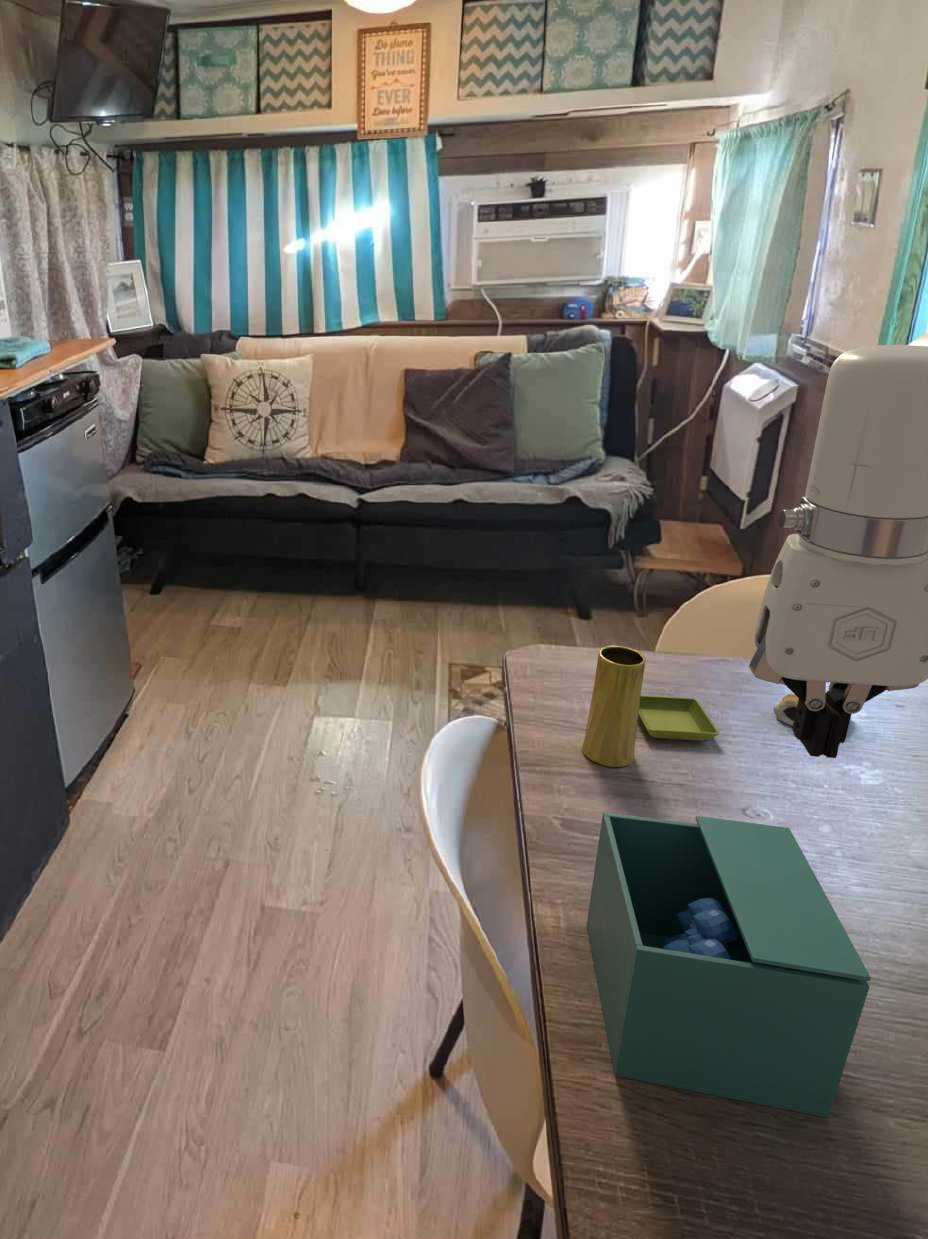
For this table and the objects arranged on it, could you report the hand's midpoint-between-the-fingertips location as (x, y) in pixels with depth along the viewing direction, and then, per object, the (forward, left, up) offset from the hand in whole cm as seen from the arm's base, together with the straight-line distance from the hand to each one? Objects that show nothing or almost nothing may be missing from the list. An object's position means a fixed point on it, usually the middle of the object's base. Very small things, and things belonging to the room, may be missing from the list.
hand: (815, 746), depth 65 cm
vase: (+7, -34, -26) cm, 44 cm away
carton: (+6, +4, -26) cm, 26 cm away
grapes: (+7, +2, -25) cm, 26 cm away
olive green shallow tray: (-2, -43, -26) cm, 50 cm away
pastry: (-20, -47, -26) cm, 58 cm away
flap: (+2, +4, -12) cm, 12 cm away
